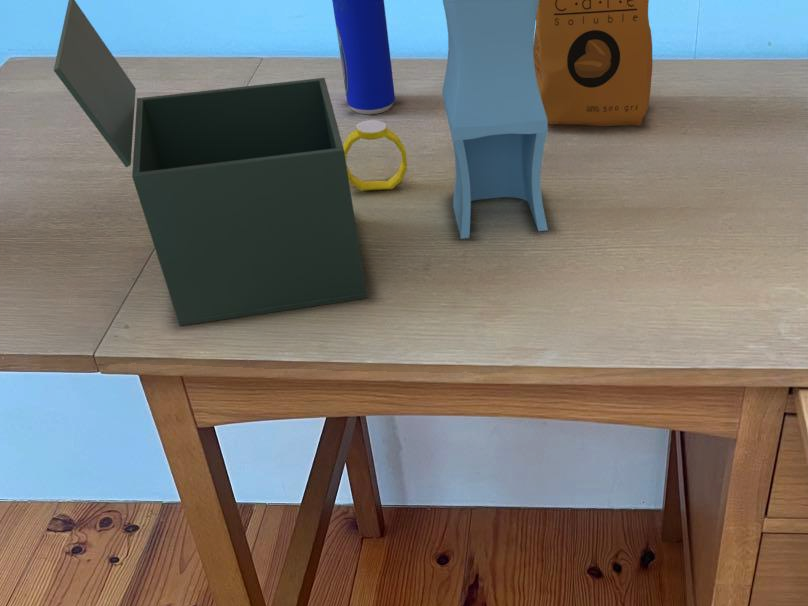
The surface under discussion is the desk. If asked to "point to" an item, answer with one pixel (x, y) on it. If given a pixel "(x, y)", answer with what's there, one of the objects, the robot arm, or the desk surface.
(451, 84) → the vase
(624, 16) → the coffee package
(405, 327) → the desk surface
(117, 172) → the desk surface
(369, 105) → the beverage can
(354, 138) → the watch
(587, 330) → the desk surface
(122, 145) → the box flap
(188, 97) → the open box
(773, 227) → the desk surface
